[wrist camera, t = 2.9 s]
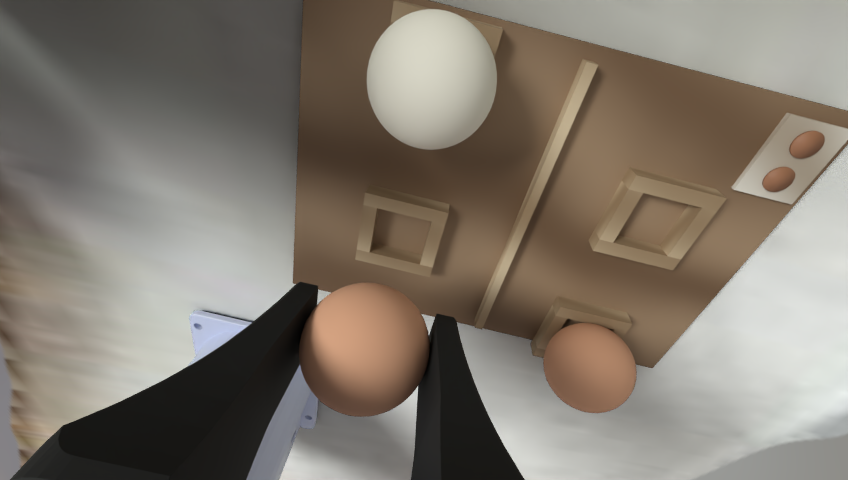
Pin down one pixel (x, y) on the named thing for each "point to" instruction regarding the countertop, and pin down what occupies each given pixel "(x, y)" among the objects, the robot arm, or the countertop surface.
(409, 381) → the terracotta ball
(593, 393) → the terracotta ball
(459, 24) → the cream ball
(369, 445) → the countertop surface
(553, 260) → the board
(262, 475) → the robot arm
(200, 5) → the countertop surface
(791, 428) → the countertop surface
